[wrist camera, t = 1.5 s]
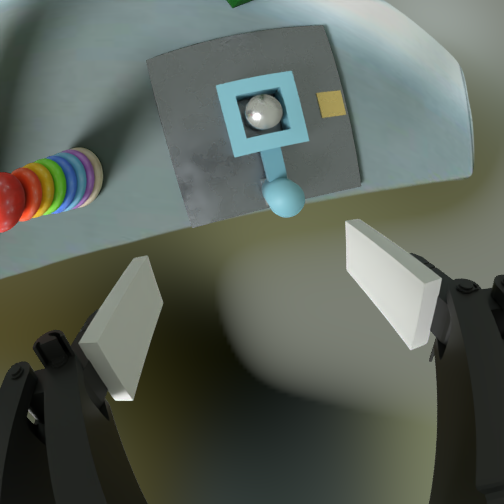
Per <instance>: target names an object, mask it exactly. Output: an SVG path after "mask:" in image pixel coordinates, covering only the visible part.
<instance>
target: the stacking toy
mask: <svg viewBox="0 0 504 504" xmlns="http://www.w3.org/2000/svg"><path fill="white" fill-rule="evenodd" d="M102 182H103V170H102V166H101V163H100V161H99V159H98V158H97V156H96V155H95V154H94V153H93V152H91V151H90V150H88V149H85V148H80V147H79V148H72V149H69V150H65V151H62V152H60V153H58V154H55V155H53V156H49V157H47V158H45V159H40V160H37V161H35V162H34V163H29V164H27V165H25V166H24V167H23V168H18V169H16V170H14V171H13V172H12V173H11V174H10V173H6V172H0V232H5V231H8V230H10V229H11V228H12V227H14V226H15V225H16V224H17V222H18V221H27V220H29V219H31V218H35V217H39V216H41V215H47V214H56V213H60V212H63V211H68V210H71V209H75V208H80V207H84V206H86V205H88V204H90V203H91V202H92V201H93V200H94V199H95V198H96V197H97V195H98V194H99V192H100V189H101V187H102Z"/></svg>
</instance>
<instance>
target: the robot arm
mask: <svg viewBox="0 0 504 504" xmlns="http://www.w3.org/2000/svg"><path fill="white" fill-rule="evenodd" d="M345 223H346V255H347V256H346V257H347V271H348V272H349V274H350V275H351V276H352V277H353V278H354V280H355V281H356V282H357V283H358V284H359V286H360V287H361V288H362V289H363V290H364V292H365V293H366V294H367V295H368V296H369V298H370V299H371V300H372V301H373V303H374V304H375V305H376V306H377V308H378V309H379V310H380V311H381V313H382V314H383V315H384V316H385V318H386V319H387V320H388V321H389V323H390V324H391V325H392V326H393V328H394V329H395V330H396V332H397V333H398V334H399V336H400V337H401V338H402V339H403V341H404V342H405V343H406V344H407V346H408V347H409V349H410V350H412V349H415V348H418V347H420V346H422V345H425V344H427V342H428V338H429V334H430V331H431V332H432V333H433V334H434V335H435V336H436V339H435V342H434V345H433V349H432V352H431V355H430V358H429V361H430V362H431V361H432V359H433V356H434V355H435V365H436V380H437V441H436V455H435V466H434V475H433V482H432V489H431V495H430V501H429V504H504V275H498V276H496V277H495V279H494V283H493V287H492V288H488V289H481V288H480V287H479V285H478V284H476V283H475V282H473V281H471V280H468V279H455V280H452V279H451V278H450V277H448V276H447V275H446V274H444V273H443V272H442V271H440V270H439V269H438V268H435V266H434V265H432V264H431V263H429V262H428V261H427V260H426V259H424V258H423V257H421V256H418V255H416V254H413V253H408V252H407V251H405V250H404V249H402V248H401V247H400V246H398V245H397V244H395V243H394V242H393V241H391V240H390V239H388V238H387V237H385V236H384V235H382V234H381V233H380V232H378V231H376V230H375V229H374V228H372V227H371V226H369V225H368V224H366V223H365V222H363V221H362V220H360V219H355V220H348V221H345ZM162 305H163V301H162V298H161V295H160V292H159V290H158V286H157V283H156V280H155V277H154V274H153V271H152V268H151V265H150V262H149V258H148V256H143V257H137V258H134V259H133V260H132V262H131V263H130V264H129V266H128V267H127V269H126V270H125V272H124V273H123V274H122V276H121V277H120V279H119V280H118V282H117V283H116V285H115V286H114V288H113V289H112V291H111V292H110V294H109V295H108V297H107V298H106V300H105V301H104V303H103V304H102V306H101V307H100V309H98V310H96V311H95V312H94V313H93V314H91V315H90V316H89V318H88V319H87V321H86V322H85V324H84V326H83V327H82V328H81V330H80V332H79V333H78V335H77V337H76V338H75V340H74V341H73V343H72V345H71V346H70V344H69V342H68V341H67V339H66V337H65V335H64V333H63V332H62V331H60V330H53V331H50V332H47V333H45V334H44V335H42V336H41V337H40V338H38V339H37V341H36V342H35V343H34V346H33V350H34V351H35V353H36V355H37V356H38V358H39V359H40V361H41V362H42V364H43V365H44V367H45V369H41V370H37V371H34V370H33V369H32V367H31V366H30V365H29V363H27V362H19V363H16V364H15V365H13V366H11V368H10V369H9V370H8V372H7V374H6V376H5V378H4V380H3V383H2V385H1V388H0V504H148V503H147V501H146V499H145V498H144V495H143V493H142V491H141V489H140V487H139V485H138V483H137V480H136V478H135V475H134V473H133V471H132V468H131V466H130V463H129V461H128V458H127V456H126V453H125V450H124V448H123V445H122V442H121V439H120V436H119V433H118V430H117V427H116V424H115V421H114V418H113V415H112V411H111V408H110V405H109V403H108V402H107V400H106V399H105V396H106V393H107V391H109V393H110V394H111V395H112V397H113V398H114V400H119V401H133V399H134V395H135V392H136V388H137V385H138V381H139V377H140V374H141V371H142V367H143V364H144V361H145V357H146V354H147V350H148V347H149V344H150V341H151V338H152V335H153V332H154V329H155V326H156V323H157V319H158V316H159V313H160V311H161V308H162ZM28 411H29V412H30V413H31V414H32V415H33V417H34V418H35V419H36V420H35V423H34V424H33V423H32V422H31V421H30V420H29V419H28V418H27V413H28Z"/></svg>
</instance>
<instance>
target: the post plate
mask: <svg viewBox="0 0 504 504" xmlns="http://www.w3.org/2000/svg"><path fill="white" fill-rule="evenodd" d="M146 62H147V67H148V71H149V75H150V80H151V84H152V88H153V92H154V96H155V100H156V104H157V108H158V112H159V116H160V120H161V124H162V127H163V131H164V135H165V138H166V142H167V146H168V149H169V153H170V156H171V160H172V163H173V167H174V170H175V174H176V177H177V181H178V184H179V187H180V191H181V194H182V197H183V200H184V204H185V207H186V210H187V213H188V216H189V219H190V223H191V226H192V228H194V227H198V226H201V225H205V224H208V223H212V222H216V221H219V220H223V219H227V218H231V217H234V216H238V215H242V214H246V213H250V212H254V211H258V210H262V209H265V208H269V207H270V206H269V204H268V203H267V201H266V200H265V198H264V197H263V194H262V185H263V183H264V181H265V180H266V179H267V178H266V174H265V170H264V166H263V162H262V157H261V153H260V152H255V153H251V154H247V155H243V156H239V157H234V154H233V150H232V147H231V143H230V139H229V135H228V131H227V128H226V124H225V120H224V116H223V112H222V109H221V105H220V101H219V97H218V94H217V89H216V85H220V84H224V83H228V82H232V81H237V80H241V79H246V78H251V77H256V76H262V75H267V74H273V73H280V72H286V71H292V73H293V77H294V81H295V84H296V88H297V92H298V96H299V100H300V104H301V108H302V112H303V116H304V120H305V124H306V128H307V133H308V137H309V141H307V142H302V143H297V144H292V145H287V146H282V147H281V151H282V156H283V160H284V164H285V169H286V173H287V178H288V179H289V180H291V181H293V182H294V183H296V184H297V185H299V186H300V187H301V189H302V190H303V192H304V195H305V199H307V198H311V197H315V196H320V195H324V194H328V193H333V192H337V191H342V190H346V189H351V188H356V187H360V186H361V181H360V174H359V167H358V161H357V155H356V150H355V144H354V139H353V134H352V129H351V124H350V119H349V115H348V110H347V106H346V102H345V97H344V93H343V89H342V85H341V82H340V78H339V74H338V71H337V67H336V64H335V60H334V57H333V54H332V50H331V47H330V44H329V41H328V38H327V35H326V32H325V29H324V26H323V25H320V26H300V27H288V28H278V29H270V30H263V31H256V32H250V33H244V34H238V35H233V36H228V37H224V38H219V39H215V40H211V41H207V42H203V43H199V44H195V45H191V46H188V47H185V48H181V49H178V50H175V51H172V52H168V53H165V54H163V55H160V56H157V57H154V58H151V59H149V60H146ZM237 104H238V107H239V111H240V115H241V119H242V123H243V127H244V130H245V134H246V138H251V137H255V136H260V135H264V134H269V133H274V132H278V131H283V128H282V124H281V118H282V113H283V112H282V106H281V104H280V103H279V101H278V100H277V99H276V98H275V96H274V94H269V95H266V94H261V95H257V96H255V97H253V98H249V99H245V100H240V101H237Z"/></svg>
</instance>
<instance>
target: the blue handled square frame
mask: <svg viewBox="0 0 504 504" xmlns="http://www.w3.org/2000/svg"><path fill="white" fill-rule="evenodd" d="M216 89H217V94H218V97H219V101H220V105H221V109H222V112H223V116H224V120H225V124H226V128H227V131H228V135H229V139H230V143H231V147H232V150H233V154H234V157H239V156H243V155H247V154H251V153H255V152H260V153H261V157H262V162H263V166H264V170H265V174H266V178H267V179H266V180H265V181H264V183H263V185H262V194H263V197H264V198H265V200H266V201H267V203H268V204H269V206H270V208H271V209H272V211H273V212H274V213H275V214H277V215H279V216H281V217H292V216H294V215H296V214H298V213H299V212H300V211H301V209H302V208H303V206H304V203H305V195H304V192H303V190H302V189H301V187H300V186H299V185H297V184H296V183H294V182H293V181H291V180H289V179H288V178H287V173H286V169H285V164H284V160H283V156H282V151H281V147H282V146H287V145H292V144H297V143H302V142H307V141H309V137H308V133H307V128H306V124H305V120H304V116H303V112H302V108H301V104H300V100H299V96H298V92H297V88H296V84H295V81H294V77H293V73H292V71H286V72H280V73H273V74H267V75H262V76H256V77H251V78H246V79H241V80H237V81H232V82H228V83H224V84H220V85H216ZM261 94H266V95H269V94H274V96H275V98H276V99H277V100H278V101H279V103H280V104H281V106H282V112H283V113H282V118H281V124H282V128H283V131H278V132H274V133H269V134H264V135H260V136H255V137H251V138H246V134H245V130H244V127H243V123H242V119H241V115H240V111H239V107H238V104H237V101H240V100H245V99H249V98H253V97H255V96H257V95H261Z"/></svg>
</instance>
